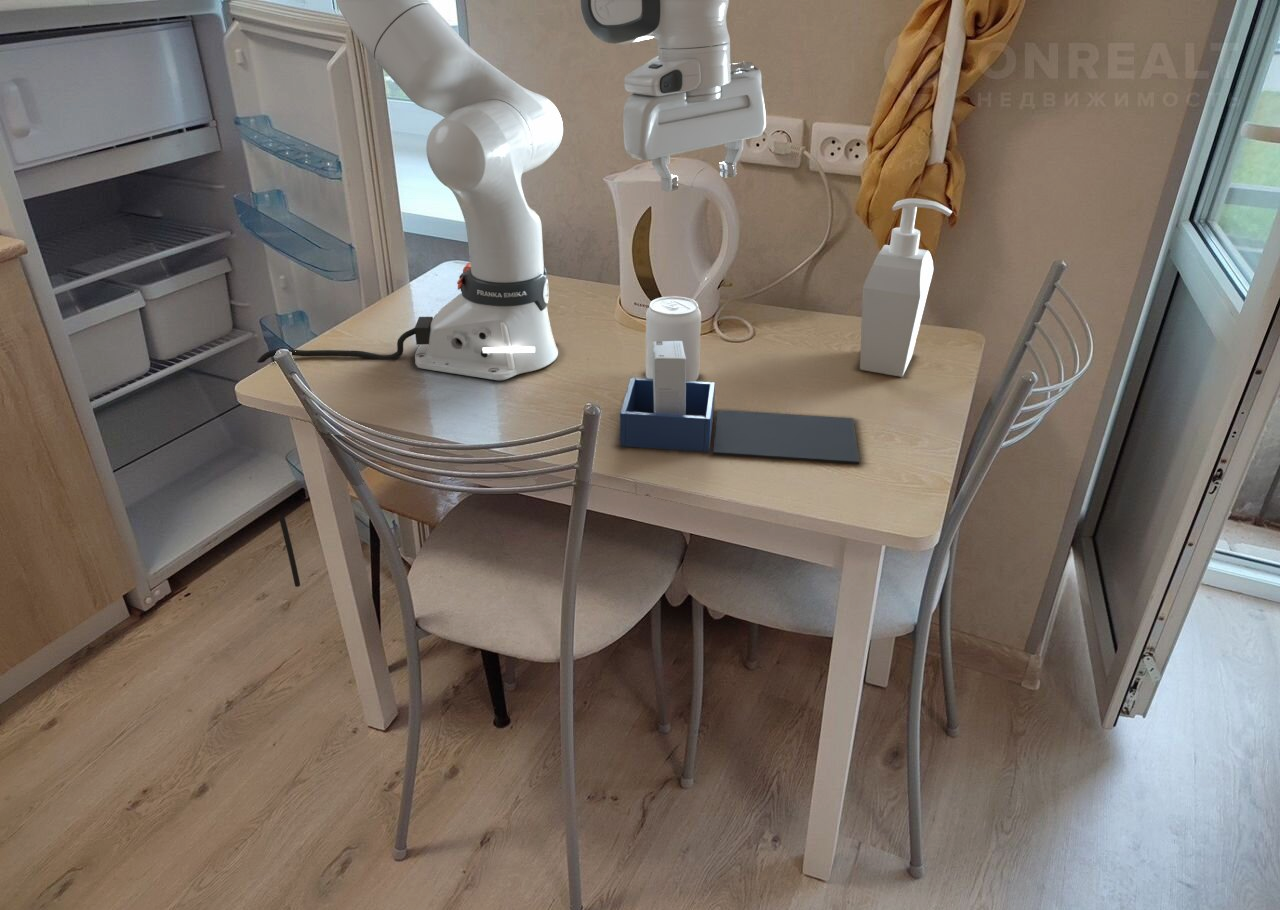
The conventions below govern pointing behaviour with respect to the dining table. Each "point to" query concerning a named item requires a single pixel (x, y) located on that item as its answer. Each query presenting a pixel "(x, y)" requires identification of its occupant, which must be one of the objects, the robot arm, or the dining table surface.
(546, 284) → the robot arm
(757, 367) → the dining table surface
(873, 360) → the soap bottle
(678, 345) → the cosmetic box
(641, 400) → the bin
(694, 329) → the beverage can
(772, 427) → the mat
